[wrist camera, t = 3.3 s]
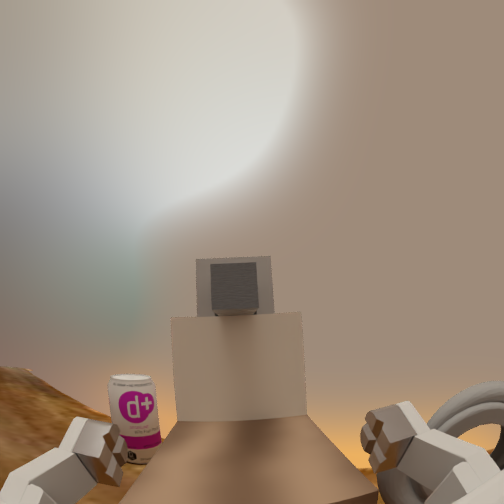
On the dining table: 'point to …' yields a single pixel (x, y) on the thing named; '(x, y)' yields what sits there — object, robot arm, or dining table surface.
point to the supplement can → (135, 414)
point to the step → (250, 466)
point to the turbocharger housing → (455, 424)
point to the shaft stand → (238, 356)
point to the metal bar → (234, 289)
